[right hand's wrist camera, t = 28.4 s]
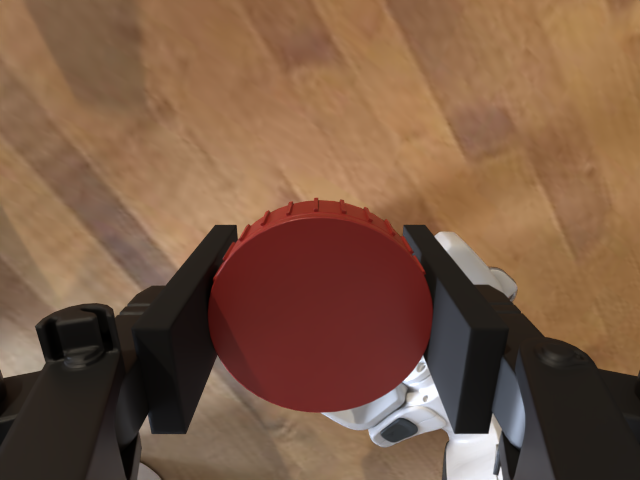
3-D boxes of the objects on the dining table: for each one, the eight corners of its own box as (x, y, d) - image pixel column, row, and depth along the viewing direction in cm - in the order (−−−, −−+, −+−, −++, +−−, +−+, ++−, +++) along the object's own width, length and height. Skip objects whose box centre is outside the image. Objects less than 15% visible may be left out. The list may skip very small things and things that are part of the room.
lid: (321, 407, 13) (321, 448, 12) (178, 296, 12) (157, 326, 10) (462, 294, 12) (484, 324, 10) (318, 150, 10) (318, 159, 9)
